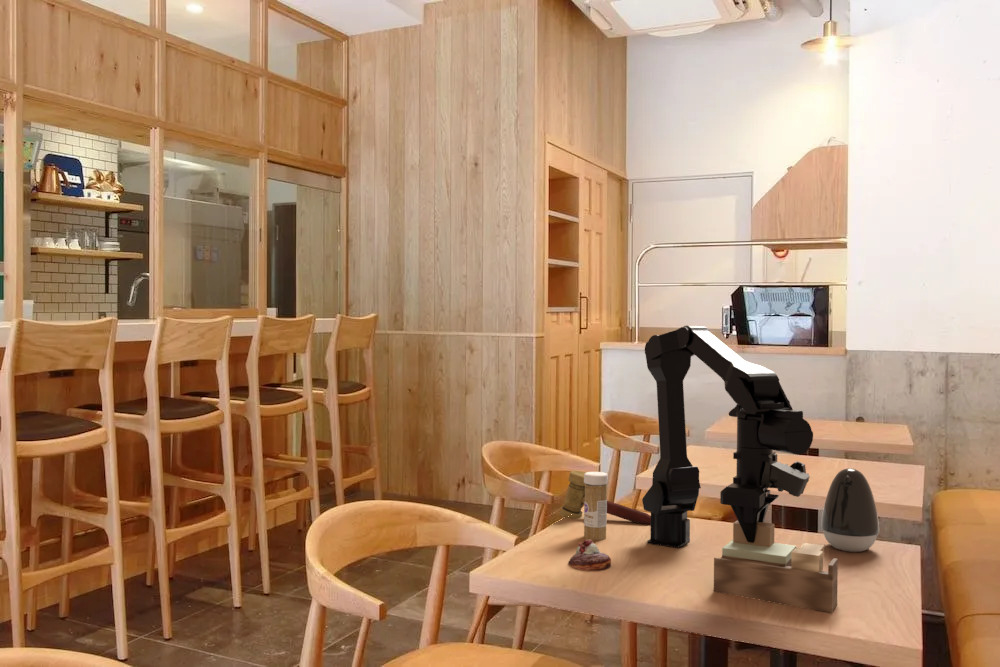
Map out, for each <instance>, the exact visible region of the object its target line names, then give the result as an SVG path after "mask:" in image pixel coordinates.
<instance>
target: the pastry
mask: <svg viewBox="0 0 1000 667" xmlns="http://www.w3.org/2000/svg"><path fill="white" fill-rule="evenodd" d="M567 564H568V565H569V566H570V567H571V568H573V569H576V570H580V571H589V572H590V571H593V572H595V571H596V572H598V571H605V570H607V569H609V568H611V567H612V558H611V557H610V556H609V555H608V554H607V553H604V552H601V551H600V549H599V548H598V545H597V544H595V543H594V542H593V540H591V539H585V540H583V542H582V541H581V542H578V545H577V548H576V549H575V553H574V554H573V555H572V556H571V557H570V559H569V561H568V563H567Z"/></svg>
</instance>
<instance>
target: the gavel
mask: <svg viewBox="0 0 1000 667" xmlns="http://www.w3.org/2000/svg"><path fill="white" fill-rule="evenodd" d="M585 473H586V472H583V471H580V470H579V471H578V470H571V471H570V472H569V476H568V482H569V484H568V486H567V491H566V495H565V498H564V503H563V505H562V506H561V508H560V512H559V517H562V518H565V519H579V518H580V519H581V518H582V517H583V511H582V509H583V508H584V502H585V483H584V474H585ZM571 514H572V515H571ZM607 515H611V516H615V517H618V518H620V519H623V520H627V521H629V522H632V523H636V524H638V523H639V525H645V526H646V525H650V526H651V514H649V513H646V512H644V511H642V510H641V511H640V510H637V509H634V508H631V507H629V506H625V505H623V504H622V505H621V504H619V503H616V502H612V501H610V500H607ZM568 516H569V517H568Z"/></svg>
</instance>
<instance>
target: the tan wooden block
mask: <svg viewBox="0 0 1000 667" xmlns="http://www.w3.org/2000/svg"><path fill="white" fill-rule="evenodd" d="M824 555H825V545H823V544H816V543H815V544H814V543H807V542H804V543H802V545H801V546H800V547H796V548H795V549H794V550H793V551H792V559H791V568H792V569H799V570H806V571H813V572H820V573H821V571H824V570H823V568H824Z"/></svg>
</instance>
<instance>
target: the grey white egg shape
mask: <svg viewBox="0 0 1000 667" xmlns="http://www.w3.org/2000/svg"><path fill="white" fill-rule="evenodd" d="M824 500H825V501H824V504H823V509H822V515H821V521H820V524H821V525H820V527H821V530H822V531H823V535H824V538H825V540H826V541H827V543H828V544H830V545H831V547H833V548H835V549H836V550H839V551H843V552H847V553H848V552H849V553H851V552H852V553H860V552H864V551H867V550H869V549H870V548H871V547H872V546H873V545H874V543H875V542H876V540H877V537H878V534H879V533H880V523H879V516H878V511H877V510H878V509H877V506H876V505H877V504H876V501H875V497H874V495H873V491H872V488H871V486H870V484H869V482H868V480H867V478H866V477H865V475H864V474H863V473H862V472H861V471H860V470H858V469H856V468H850V467H848V468H844V469H841V470H840V471H838V473H836V475H835V476H834V477H833V479H832V481H831V483H830V486H829V488H828V491H827V494H826V498H825V499H824Z"/></svg>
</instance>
